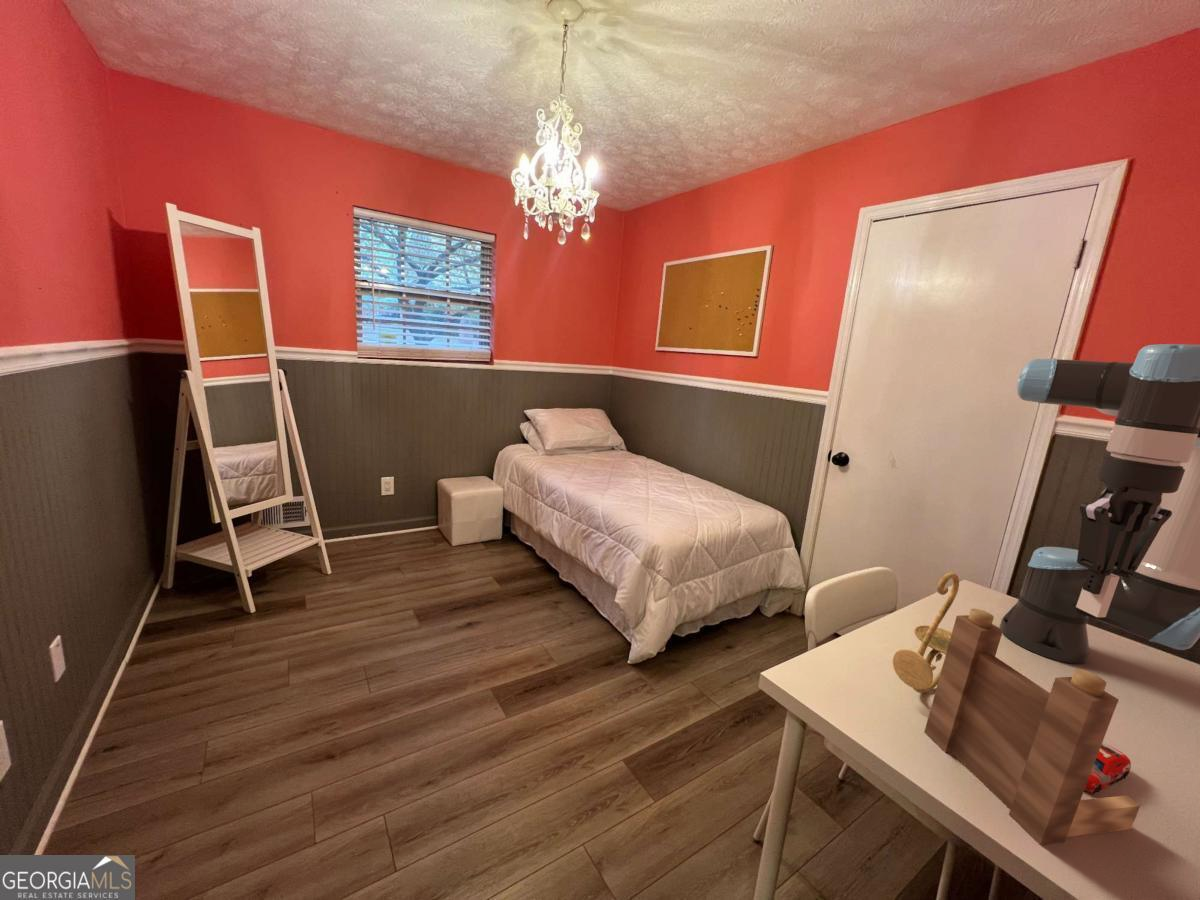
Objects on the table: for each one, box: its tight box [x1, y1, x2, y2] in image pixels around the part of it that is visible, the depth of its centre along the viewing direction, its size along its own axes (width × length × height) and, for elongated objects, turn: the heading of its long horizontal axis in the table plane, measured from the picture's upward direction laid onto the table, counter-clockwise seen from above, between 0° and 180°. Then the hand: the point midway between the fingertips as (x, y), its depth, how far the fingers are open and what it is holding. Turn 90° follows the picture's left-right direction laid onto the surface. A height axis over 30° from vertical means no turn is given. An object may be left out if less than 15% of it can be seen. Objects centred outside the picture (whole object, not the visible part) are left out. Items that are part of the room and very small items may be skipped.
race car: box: [1084, 741, 1132, 795], centre depth 71 cm, size 13×5×4 cm, turn 109°
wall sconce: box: [892, 572, 960, 694], centre depth 84 cm, size 14×10×25 cm
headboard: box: [924, 608, 1141, 846], centre depth 67 cm, size 16×18×24 cm
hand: (1090, 611), depth 68 cm, fingers closed
